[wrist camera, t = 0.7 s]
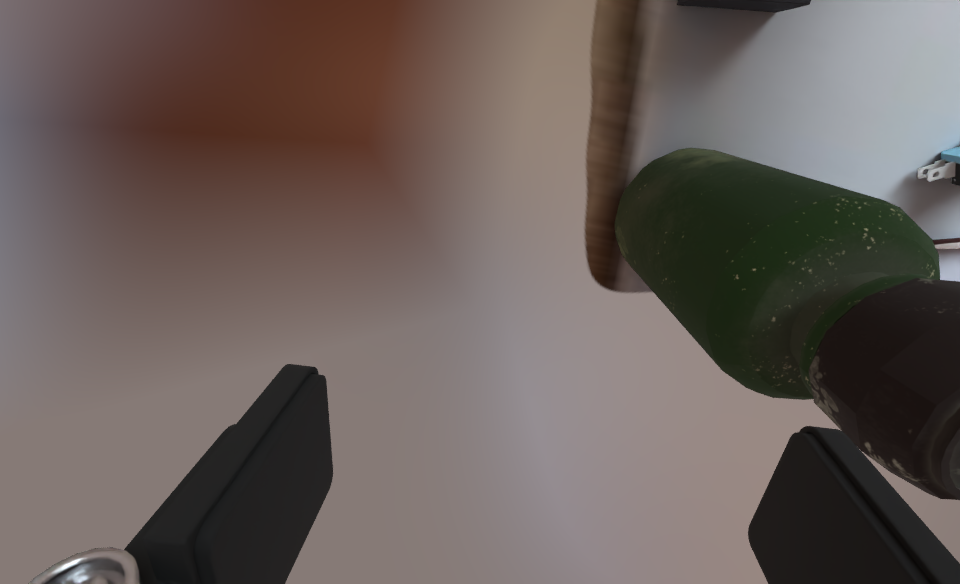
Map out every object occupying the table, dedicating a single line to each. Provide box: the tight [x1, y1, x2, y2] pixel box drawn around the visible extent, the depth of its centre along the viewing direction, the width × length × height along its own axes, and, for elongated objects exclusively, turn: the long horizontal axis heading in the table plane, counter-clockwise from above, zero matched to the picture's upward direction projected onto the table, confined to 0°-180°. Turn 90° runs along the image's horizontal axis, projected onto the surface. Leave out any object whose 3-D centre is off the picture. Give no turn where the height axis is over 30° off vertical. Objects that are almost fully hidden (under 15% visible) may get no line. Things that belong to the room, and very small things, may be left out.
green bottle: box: [615, 148, 960, 500], centre depth 25 cm, size 10×10×25 cm
